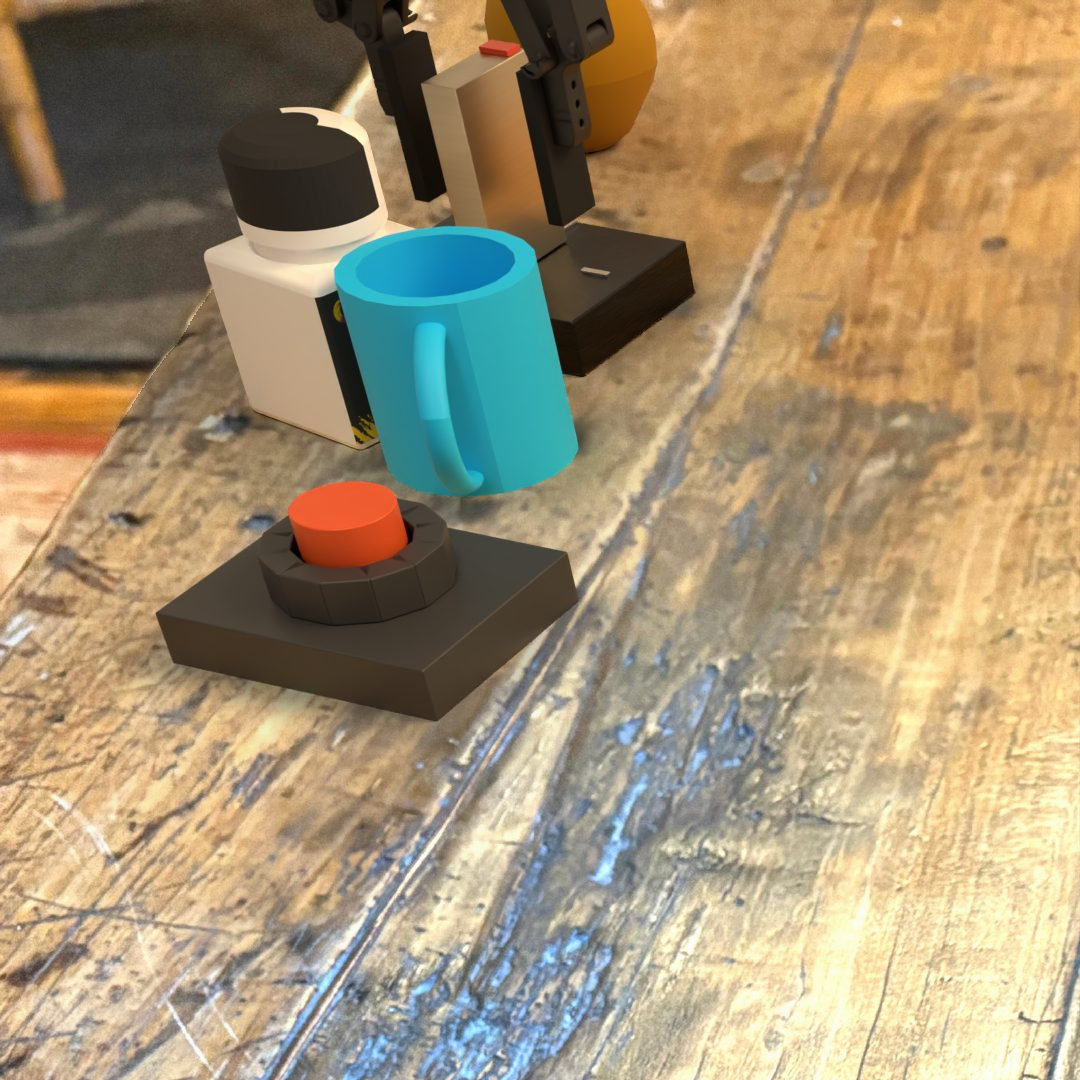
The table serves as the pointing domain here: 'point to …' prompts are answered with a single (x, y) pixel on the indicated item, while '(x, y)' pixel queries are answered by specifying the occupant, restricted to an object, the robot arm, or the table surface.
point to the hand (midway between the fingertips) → (505, 201)
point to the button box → (373, 616)
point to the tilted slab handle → (489, 146)
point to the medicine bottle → (298, 265)
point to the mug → (458, 359)
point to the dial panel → (608, 289)
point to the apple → (605, 68)
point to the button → (347, 524)
